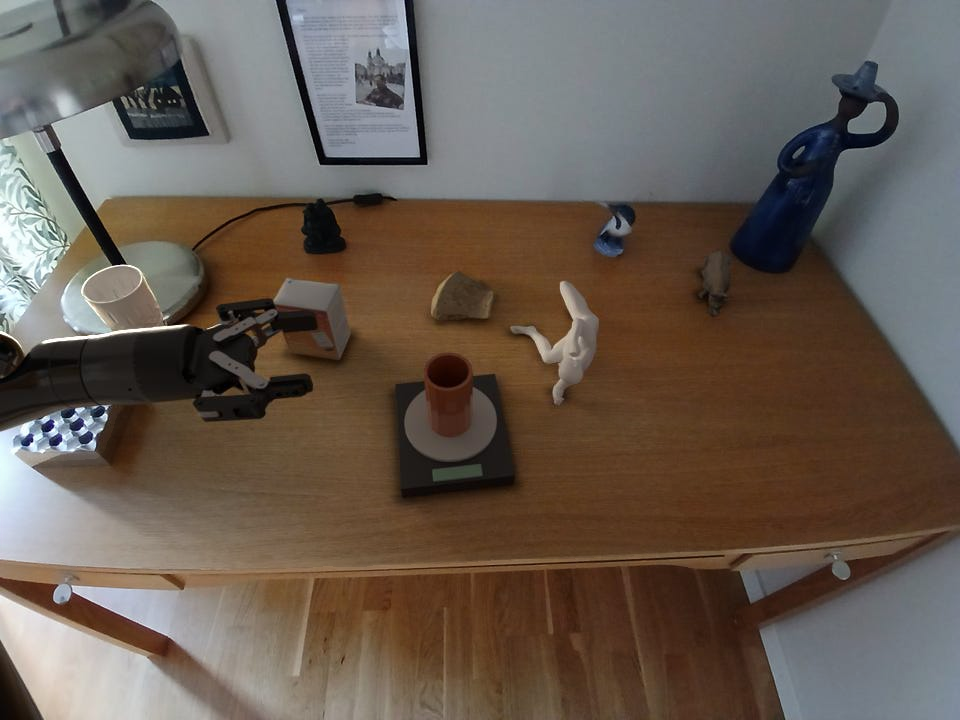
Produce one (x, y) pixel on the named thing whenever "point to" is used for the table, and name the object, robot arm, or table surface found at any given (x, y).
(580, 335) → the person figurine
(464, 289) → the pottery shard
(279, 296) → the small box
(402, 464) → the scale
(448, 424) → the cup
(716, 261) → the rhino figurine
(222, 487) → the table surface
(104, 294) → the white cup
